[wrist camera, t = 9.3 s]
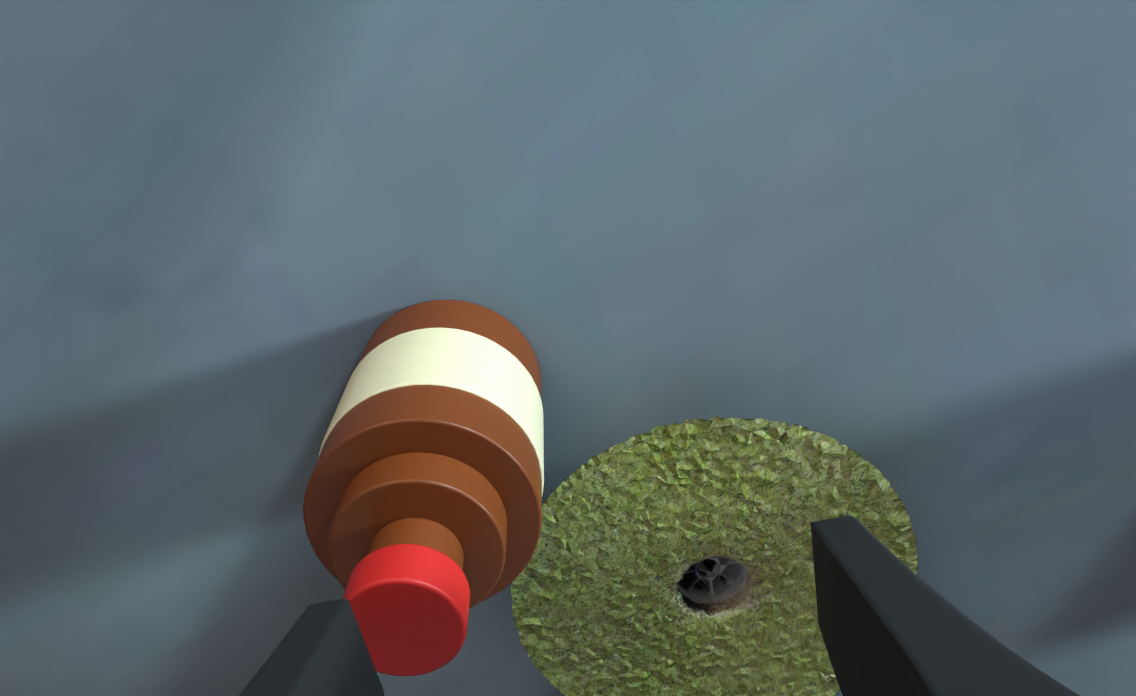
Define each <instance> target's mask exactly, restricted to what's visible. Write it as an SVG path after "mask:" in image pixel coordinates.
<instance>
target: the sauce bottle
mask: <svg viewBox="0 0 1136 696" xmlns="http://www.w3.org/2000/svg"><path fill="white" fill-rule="evenodd" d="M543 487H544V432H543V407H542V402H541V374H540V369H539V364H538V361H537V358H536V355H535V353H534V351H533V349H532V347H531V345H530V344H529V342H528V341H527V340H526V338H525V337H524V335H523V334H522V333H521V332H520V331H519V330H518V329H517V328H516V327H515V326H514V325H513V324H512V323H510V322H509V321H508V320H507V319H505V318H504V317H502V316H501V315H499V314H498V313H496V312H494V311H492V310H490V309H487V308H485V307H482V306H479V305H477V304H473V303H469V302H464V301H456V300H435V301H428V302H423V303H420V304H416V305H413V306H410V307H408V308H406V309H403V310H401V311H400V312H398V313H396V314H394V315H393V316H391V317H390V318H389V319H387V320H386V321H385V322H384V323H383V324H382V325H381V326H380V327H379V328H378V329H377V330H376V331H375V332H374V334H373V335H372V336H371V338H370V339H369V341H368V343H367V345H366V347H365V349H364V351H363V353H362V356H361V358H360V361H359V363H358V365H357V367H356V369H355V370H354V371H353V373H352V375H351V377H350V379H349V381H348V383H347V386H346V388H345V390H344V393H343V395H342V397H341V400H340V402H339V404H338V407H337V409H336V412H335V414H334V416H333V419H332V421H331V423H330V426H329V428H328V430H327V433H326V435H325V437H324V440H323V442H322V445H321V449H320V452H319V457H318V460H317V462H316V465H315V467H314V469H313V472H312V474H311V477H310V479H309V482H308V485H307V488H306V491H305V497H304V504H303V513H304V523H305V528H306V532H307V535H308V538H309V541H310V544H311V546H312V548H313V549H314V551H315V553H316V555H317V557H318V558H319V559H320V561H321V562H322V564H323V565H324V566H325V567H326V568H327V570H328V571H329V572H330V573H331V574H332V575H333V576H334V577H335V578H336V579H338V580H339V582H340V583H341V585H342V586H343V587H344V588H345V589H346V590H345V594H344V597H343V599H347V598H348V600H349V602H350V605H351V608H352V610H353V613H354V615H355V618H356V620H357V623H358V626H359V628H360V631H361V633H362V636H363V639H364V641H365V644H366V646H367V649H368V651H369V654H370V657H371V659H372V662H373V664H374V667H375V669H376V671H378V672H380V673H384V674H388V675H395V676H415V675H421V674H425V673H429V672H432V671H435V670H437V669H439V668H441V667H443V666H444V665H446V664H447V663H448V662H450V661H451V660H452V659H453V658H454V657H455V656H456V655H457V653H458V652H459V651H460V649H461V647H462V646H463V643H464V641H465V638H466V633H467V623H468V614H469V609H470V608H472V607H473V606H475V605H476V604H478V603H479V602H481V601H484V600H486V599H488V598H490V597H492V596H494V595H495V594H497V593H498V592H500V591H501V590H503V589H504V588H506V587H507V586H508V585H509V584H510V583H512V582H513V581H514V580H515V579H516V578H517V577H518V576H519V575H520V573H521V572H522V571H523V570H524V569H525V567H526V566H527V564H528V563H529V561H530V560H531V558H532V556H533V554H534V552H535V550H536V548H537V545H538V541H539V538H540V534H541V526H542V495H543Z"/></svg>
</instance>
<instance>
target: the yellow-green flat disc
mask: <svg viewBox="0 0 1136 696" xmlns="http://www.w3.org/2000/svg"><path fill="white" fill-rule="evenodd" d="M890 486H891V484H890V483H889V482H888V481H887V480H886V478H885V477H884V476H883V475H882V473H881V472H880V471H879V470H878V469H876V468H875V467H874V466H873V465H872V464H871V463H870V462H868V461H866V460H864V459H863V458H862V457H861V456H860V455H858V454H857V452H856V451H853V450H851V449H850V448H848V447H847V446H846V445H844V444H839V442H838V441H837V440H835V439H833V438H831V437H830V436H828V435H825V434H822V433H818V432H814V431H811V430H809V429H808V428H806V427H802V426H798V425H797V424H794V425H792V426H791V427H789V425H788V424H787V422H780V421H771V422H770V421H767V420H765V419H762V418H760V419H740V418H727V419H724V418H720V417H713V418H711V419H710V420H702V419H693V420H687V419H686V421H685V422H684V423H681V424H678V425H676V424H675V423H673V424H671V425H669V426H658V427H656V428H653V429H652V430H651V431H650V432H648V433H645V434H641V435H635V436H633V437H631V438H630V439H629V440H627V441H625V442H622V443H619V444H616V445H613V446H612V447H610V448H609V449H607V450H605V451H604V452H602V453H601V454H599V455H598V456H596V457H593V456H592V457H591V459H590V460H589V461H588V463H585V464H583V465H582V466H581V467H580V468H578V469H577V470H576V471H575V472H574V473H573V474H571V475H570V476H568V477H567V478H566V479H565V480H564V481H563V482H562V484H561V485H560V486H559V487H558V488H557V489H556V490H554V491H553V492H552V494H551V495H550V496H549V497H548V499H547V500H546V501H545V502H544V504H543V505H542V526H541V534H540V538H539V541H538V545H537V548H536V550H535V552H534V554H533V556H532V558H531V560H530V561H529V563H528V564H527V566H526V567H525V569H524V570H523V571H522V572H521V573H520V575H519V576H518V577H517V578H516V579H515V580H514V581H513V582H512V583H513V584H514V585H512V586H511V595H512V604H513V606H512V612H513V617H515V625H516V627H517V629H518V634H519V636H520V641H521V643H522V645H523V646H524V648H525V649H526V651H527V652H528V653H529V654H528V657H531V658H532V660H533V662H534V665H535V666H536V667H537V669H538V670H539V671H540V672H541V673H542V674H543V675H544V676H545V677H546V679H547V680H548V681H549V682H550V683H551V684H552V685H553V686H554V687H556V688H557V689H558V690H559V691H560V692H561V693H562V694H564V695H565V696H833V695H835V694H836V693H837V691H839V690H840V688H839V685H838V682H837V679H836V676H835V673H834V670H833V667H832V664H831V661H830V658H829V655H828V652H827V649H826V646H825V643H824V640H823V637H822V634H821V631H820V627H819V624H818V613H817V600H816V587H815V574H814V561H813V548H812V535H811V522H814V521H820V520H826V519H832V518H838V517H844V516H850V515H851V516H853V517H854V518H856V519H857V520H859V521H860V522H861V523H862V524H863V525H864V526H865V527H866V528H867V529H868V530H869V531H870V532H871V533H872V534H873V535H874V536H875V537H876V538H877V539H878V540H879V541H880V542H881V543H882V544H883V545H884V546H885V547H887V548H888V549H889V550H890V551H891V552H892V553H893V554H894V555H895V556H896V557H897V558H898V559H900V560H901V561H902V562H903V563H904V564H905V565H906V566H907V567H908V568H909V569H911V570H912V571H913V572H914V573H915V574H916V575H917V571H916V570H917V558H918V557H917V556H916V554H917V550H916V538H915V535H914V532H913V527H912V523H911V521H910V518H909V516H908V515H907V512H906V509H905V507H904V505H903V503H902V500H900V499H899V498H898V496H897V494H896V491H895V490H894V489H892V488H891V487H890Z"/></svg>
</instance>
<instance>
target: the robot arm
mask: <svg viewBox="0 0 1136 696" xmlns="http://www.w3.org/2000/svg"><path fill="white" fill-rule="evenodd" d="M811 535H812V548H813V561H814V574H815V587H816V600H817V613H818V624H819V627H820V631H821V634H822V637H823V640H824V643H825V646H826V649H827V652H828V655H829V658H830V661H831V664H832V667H833V670H834V673H835V676H836V679H837V682H838V685H839V688H840V690H841V692H842V694H843V696H1079V695H1078V694H1076V693H1074V692H1073V691H1071V690H1070V689H1068V688H1067V687H1065V686H1063V685H1062V684H1060V683H1059V682H1057V681H1056V680H1054V679H1053V678H1051V677H1050V676H1048V675H1046V674H1045V673H1043V672H1042V671H1040V670H1039V669H1037V668H1036V667H1034V666H1033V665H1032V664H1030V663H1029V662H1027V661H1026V660H1024V659H1023V658H1021V657H1020V656H1019V655H1017V654H1016V653H1014V652H1013V651H1012V650H1010V649H1009V648H1007V647H1006V646H1005V645H1003V644H1002V643H1001V642H999V641H998V640H997V639H995V638H994V637H993V636H991V635H990V634H989V633H987V632H986V631H985V630H983V629H982V628H981V627H979V626H978V625H977V624H975V623H974V622H973V621H972V620H970V619H969V618H968V617H967V616H965V615H964V614H963V613H961V612H960V611H959V610H958V609H957V608H955V607H954V606H953V605H952V604H951V603H949V602H948V601H947V600H946V599H945V598H943V597H942V596H941V595H940V594H939V593H937V592H936V591H935V590H934V589H933V588H931V587H930V586H929V585H928V584H927V583H925V582H924V581H923V580H922V579H921V578H920V577H919V576H917V575H916V574H915V573H914V572H913V571H912V570H911V569H909V568H908V567H907V566H906V565H905V564H904V563H903V562H902V561H901V560H900V559H898V558H897V557H896V556H895V555H894V554H893V553H892V552H891V551H890V550H889V549H888V548H887V547H885V546H884V545H883V544H882V543H881V542H880V541H879V540H878V539H877V538H876V537H875V536H874V535H873V534H872V533H871V532H870V531H869V530H868V529H867V528H866V527H865V526H864V525H863V524H862V523H861V522H860V521H859V520H857V519H856V518H854V517H853V516H851V515H850V516H844V517H838V518H832V519H826V520H820V521H814V522H811ZM239 696H384V690H383V687H382V685H381V682H380V680H379V677H378V675H377V672H376V669H375V667H374V664H373V662H372V659H371V657H370V654H369V651H368V649H367V646H366V644H365V641H364V639H363V636H362V633H361V631H360V628H359V626H358V623H357V620H356V618H355V615H354V613H353V610H352V608H351V605H350V602H349V600H348V598H347V599H341V600H335V601H329V602H323V603H317V604H311V605H310V606H309V607H308V608H307V609H306V610H305V612H304V613H303V614H302V615H301V617H300V618H299V619H298V620H297V622H296V623H295V624H294V626H293V627H292V628H291V629H290V631H289V632H288V633H287V635H286V636H285V637H284V639H283V640H282V641H281V642H280V644H279V645H278V646H277V648H276V649H275V650H274V652H273V653H272V654H271V656H270V657H269V658H268V659H267V661H266V662H265V663H264V665H263V666H262V667H261V668H260V670H259V671H258V672H257V674H256V675H255V676H254V677H253V679H252V680H251V681H250V682H249V684H248V685H247V686H246V687H245V689H244V690H243V691H242V692H241V694H240V695H239Z"/></svg>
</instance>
